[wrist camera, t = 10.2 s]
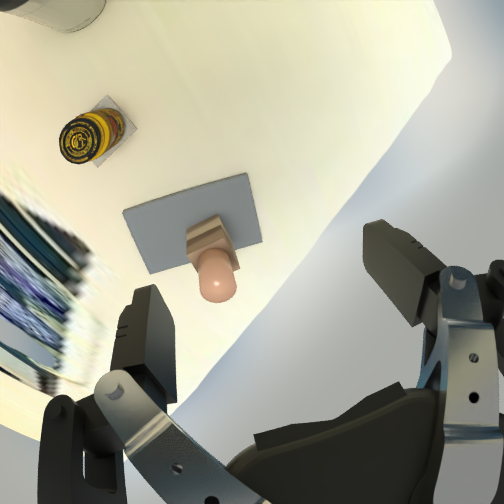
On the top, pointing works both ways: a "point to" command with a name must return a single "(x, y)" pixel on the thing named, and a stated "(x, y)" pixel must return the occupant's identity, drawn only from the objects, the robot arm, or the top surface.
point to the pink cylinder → (216, 275)
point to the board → (192, 220)
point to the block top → (210, 246)
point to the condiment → (95, 134)
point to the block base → (206, 228)
